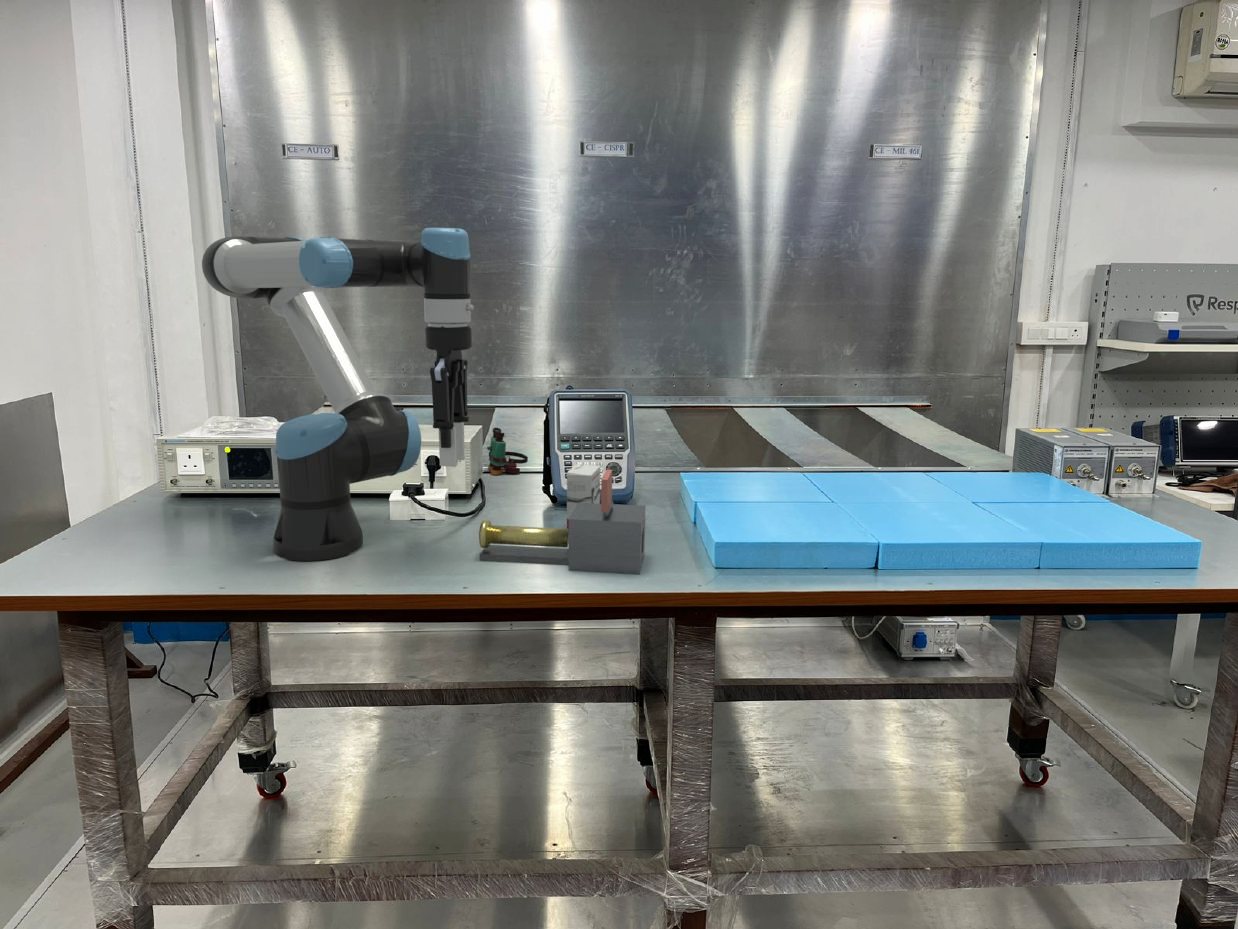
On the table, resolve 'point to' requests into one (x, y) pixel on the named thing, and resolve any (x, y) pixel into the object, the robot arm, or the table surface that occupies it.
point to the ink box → (582, 486)
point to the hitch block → (588, 542)
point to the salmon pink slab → (606, 493)
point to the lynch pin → (522, 535)
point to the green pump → (502, 455)
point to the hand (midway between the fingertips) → (452, 462)
